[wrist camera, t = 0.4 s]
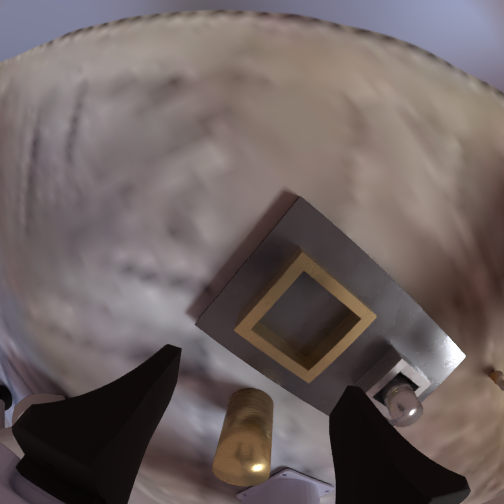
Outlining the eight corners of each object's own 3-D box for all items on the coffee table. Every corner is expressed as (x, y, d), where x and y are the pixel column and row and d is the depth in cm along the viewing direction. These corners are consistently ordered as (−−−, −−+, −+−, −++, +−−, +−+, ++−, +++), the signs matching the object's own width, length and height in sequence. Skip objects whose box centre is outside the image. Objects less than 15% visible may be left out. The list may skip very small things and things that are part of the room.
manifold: (372, 434, 23) (385, 476, 18) (197, 319, 22) (173, 358, 16) (461, 351, 21) (492, 384, 15) (299, 196, 20) (308, 196, 14)
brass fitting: (254, 426, 24) (245, 491, 16) (220, 405, 24) (201, 470, 16) (282, 403, 23) (282, 472, 15) (247, 380, 23) (234, 449, 15)
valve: (57, 348, 36) (-21, 364, 26) (82, 408, 22) (-36, 433, 12) (75, 402, 38) (3, 419, 27) (114, 474, 23) (12, 500, 13)
